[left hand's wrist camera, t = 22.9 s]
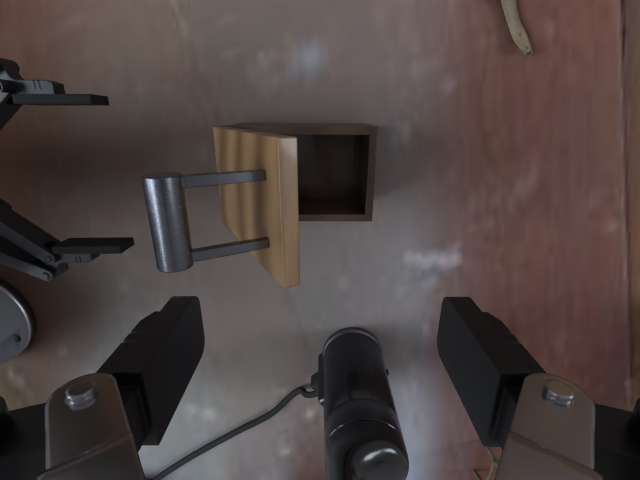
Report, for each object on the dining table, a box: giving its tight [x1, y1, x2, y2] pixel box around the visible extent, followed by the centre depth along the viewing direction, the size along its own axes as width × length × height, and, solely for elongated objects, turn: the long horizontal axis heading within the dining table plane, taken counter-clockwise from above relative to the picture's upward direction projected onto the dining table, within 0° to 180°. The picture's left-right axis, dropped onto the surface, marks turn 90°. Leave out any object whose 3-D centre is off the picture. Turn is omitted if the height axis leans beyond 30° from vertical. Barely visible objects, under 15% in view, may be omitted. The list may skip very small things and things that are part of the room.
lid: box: [142, 127, 300, 288], centre depth 28 cm, size 17×10×9 cm
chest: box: [221, 123, 377, 221], centre depth 41 cm, size 16×10×9 cm, turn 90°
